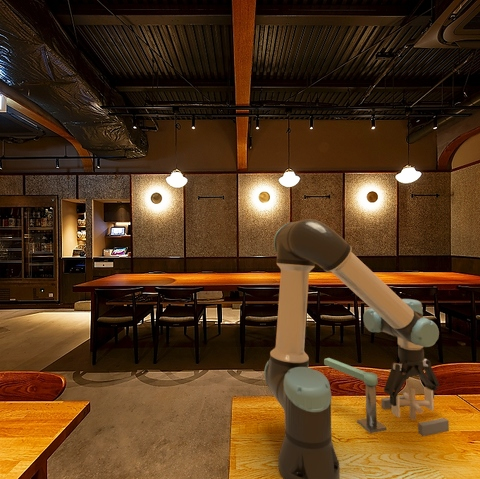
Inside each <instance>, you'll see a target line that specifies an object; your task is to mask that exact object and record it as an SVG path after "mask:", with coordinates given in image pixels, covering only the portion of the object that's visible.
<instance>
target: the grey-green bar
mask: <svg viewBox="0 0 480 479" xmlns="http://www.w3.org/2000/svg"><path fill="white" fill-rule="evenodd" d="M323 363H324V366H326V367H329V368H331V369H334V370H336V371H338V372H341V373H343V374H344V375H345V374H346V375H348V376H351V377H352V378H355V379H358V380H359V381H362V382H363V384H365V385H366V384H367V385H371V386H375V385H376V386H377V385H378V374H376V373H374V372H372V371H364V370H361V369H358V368H356V367H355V366H351V365H349V364H346V363H343V362H341V361H339V360H336V359H334V358H330V357H327V358H324V359H323Z"/></svg>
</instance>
